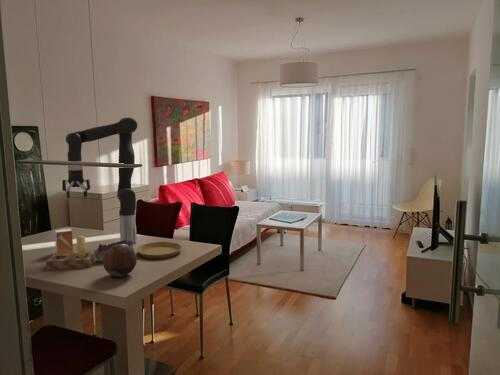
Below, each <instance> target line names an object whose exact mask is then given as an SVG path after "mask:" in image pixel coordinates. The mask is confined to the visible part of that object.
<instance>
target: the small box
mask: <svg viewBox="0 0 500 375" xmlns="http://www.w3.org/2000/svg"><path fill="white" fill-rule="evenodd" d="M54 239H55V240H54V241H55V254H69V253H74V242H73V230H72V229H71V228H61V229H55V230H54Z"/></svg>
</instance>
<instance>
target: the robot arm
mask: <svg viewBox="0 0 500 375" xmlns="http://www.w3.org/2000/svg"><path fill="white" fill-rule="evenodd" d="M137 129H138V122H137V121H136V119H135V118H133V117H123V118H121V119H120V120H119V121H118V122H115V123H114V122H113V123H111V124H107V125H100V126H94V127H91V128H87V129H83V130H78V131H74V132H70V133H68V134H67V135H66V136H65V142H66V144H67V145H68V151H67V162H68V161H71V162H82V163H83V160H82V147H83V146H82V145H83V144H84V143H89V142H95V141H98V140H101V139H105V138H108V137H111V136H115V135H118V137H119V142H118V143H119V144H118V163H124V164H134V165H135V161H136V160H135V159H136V158H135V151H134V147H133V138H132V137H133V133H134V132H136V130H137ZM118 163H117V164H118ZM83 168H84V167H83V166H71V165H68V164H67V175H68V179H62V182H61V183H62V184H61V185H62V186H61V187H62V189H61V190H62V191H63V192H66V198H68V199H71V189H72V188H81V189H82V190H83V198H84V199H87V197H88V191H89V190H91V182H90V179H89V178H87V179H84V169H83ZM134 169H135V167H134V168H119V167H118V186H117V192H116V193H117V195H116V197H117V199H118V201H119V212H118V216H119V218H118V219H119V234H120V236H119V238H120V240H119V242H120V241H124V240H126V241H127V242H128V241H129V240H130V241H132V242H133V244H136V243H137V240H138V236H137V225H136V224H137V223H136V210H137V199H136V198H137V197H136V193H135V191H134V190H133V189H132V177H133V174H134ZM67 183H68V184H69V185H68V186H67ZM84 183H85V184H86V186H85V185H84Z"/></svg>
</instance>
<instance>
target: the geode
mask: <svg viewBox="0 0 500 375" xmlns="http://www.w3.org/2000/svg"><path fill="white" fill-rule="evenodd" d="M116 244H125V245H128V246H130V247H131V248H132V249H133V250H134V251H135V249H134V243H133V242H132V241H130V240H129V241H128V242H127V241H126V240H124V241H120V240H118V241H116V242H112V243H108V244H101V243H99V244H98V247H97V250H96V253H95V254H96V259H97V260H96V262H97V263H103V256H104V254H105V252H106V251H107V249H109V248H110V247H111V246H113V245H116Z"/></svg>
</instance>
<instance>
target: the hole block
mask: <svg viewBox="0 0 500 375" xmlns="http://www.w3.org/2000/svg"><path fill="white" fill-rule="evenodd" d="M95 254H96V253H95V252H94V251H93V252H86V258H78V256H77V252H73V253H69V254H57V253H53V255H51V256H50V257H49V258H48V259H47V260H46V261H45V264H46V265H45V266H46V270H62V269H80V268H81V269H82V268H90V267H91V266H92V264H93V263H94V261H95V259H96V258H95Z"/></svg>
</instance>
